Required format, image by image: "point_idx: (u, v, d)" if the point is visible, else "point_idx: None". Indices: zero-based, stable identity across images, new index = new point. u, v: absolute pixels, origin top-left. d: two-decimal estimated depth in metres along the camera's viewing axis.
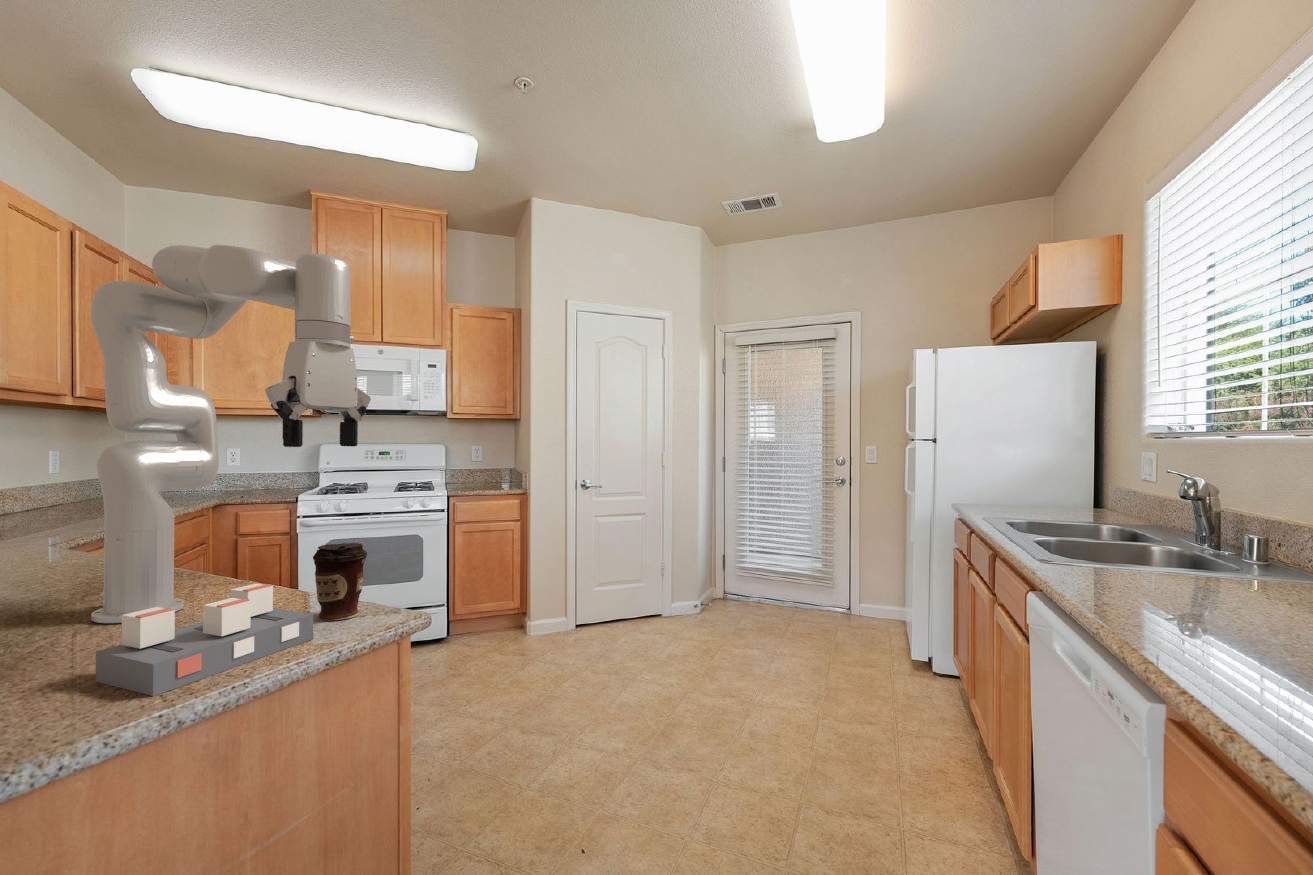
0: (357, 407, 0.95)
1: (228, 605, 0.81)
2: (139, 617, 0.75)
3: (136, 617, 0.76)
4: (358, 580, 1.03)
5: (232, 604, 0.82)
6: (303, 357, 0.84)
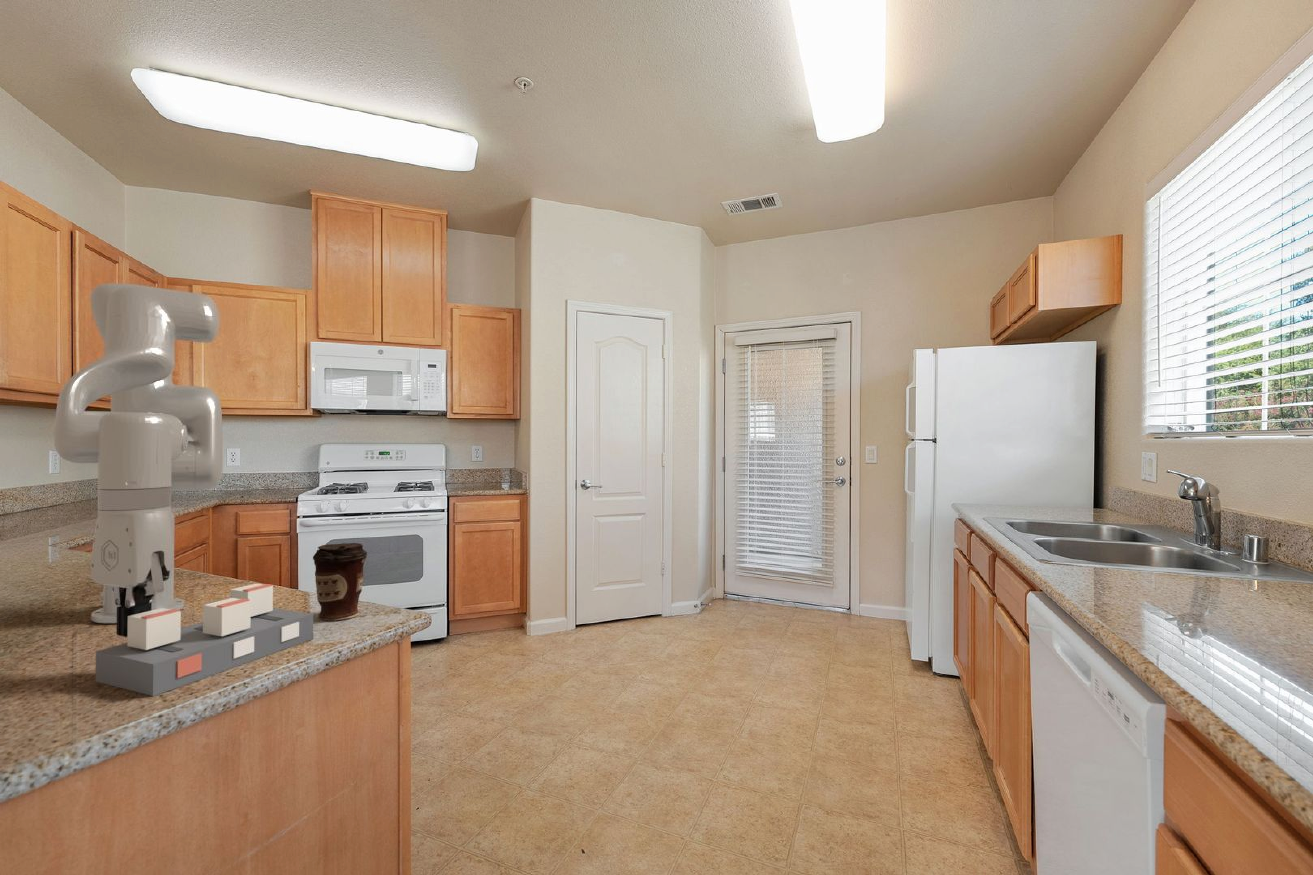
0: None
1: (228, 605, 0.81)
2: (145, 618, 0.75)
3: (142, 618, 0.75)
4: (358, 580, 1.03)
5: (232, 604, 0.82)
6: (168, 529, 0.79)
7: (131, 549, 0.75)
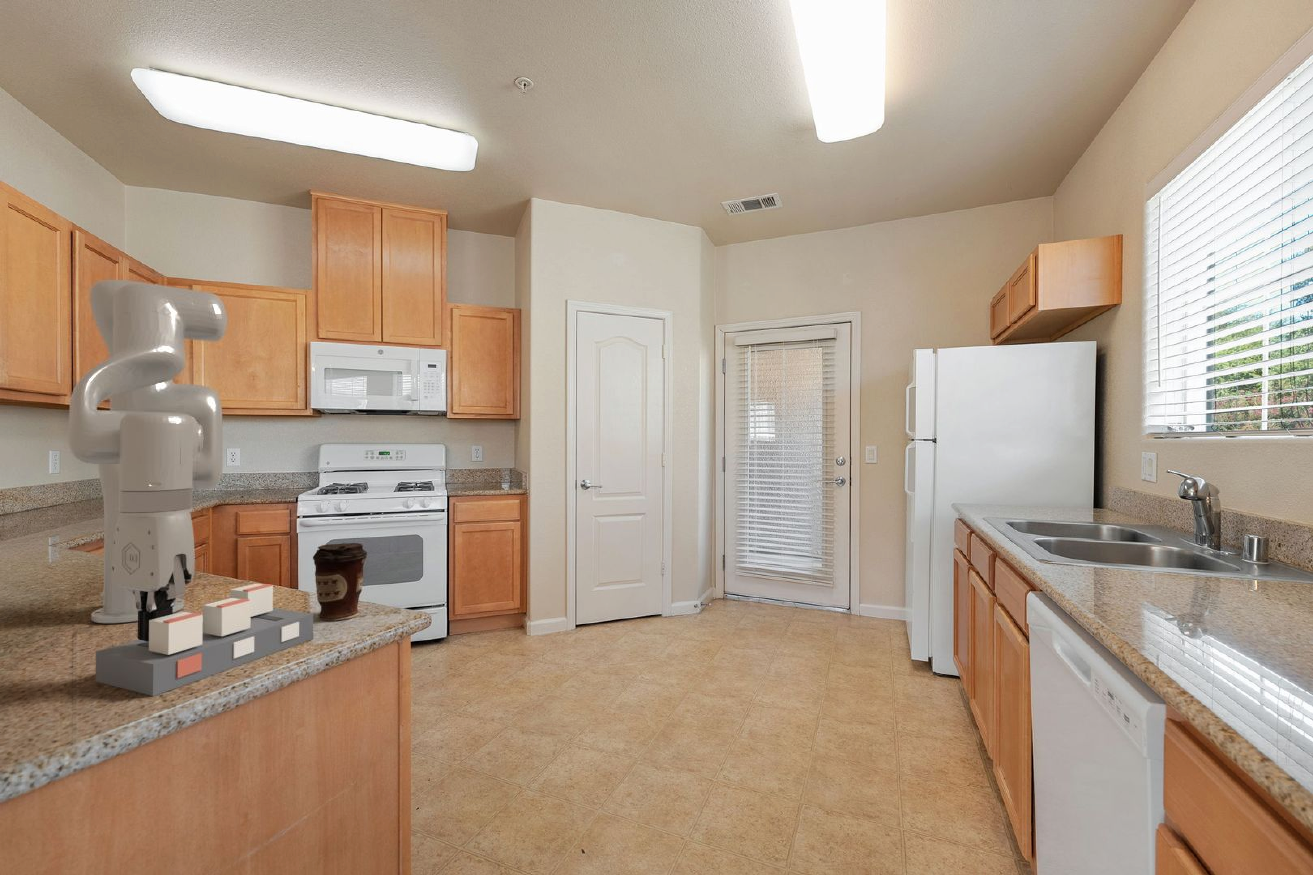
0: None
1: (228, 605, 0.81)
2: (167, 622, 0.73)
3: (164, 622, 0.74)
4: (358, 580, 1.03)
5: (232, 604, 0.82)
6: (190, 531, 0.77)
7: (153, 552, 0.73)
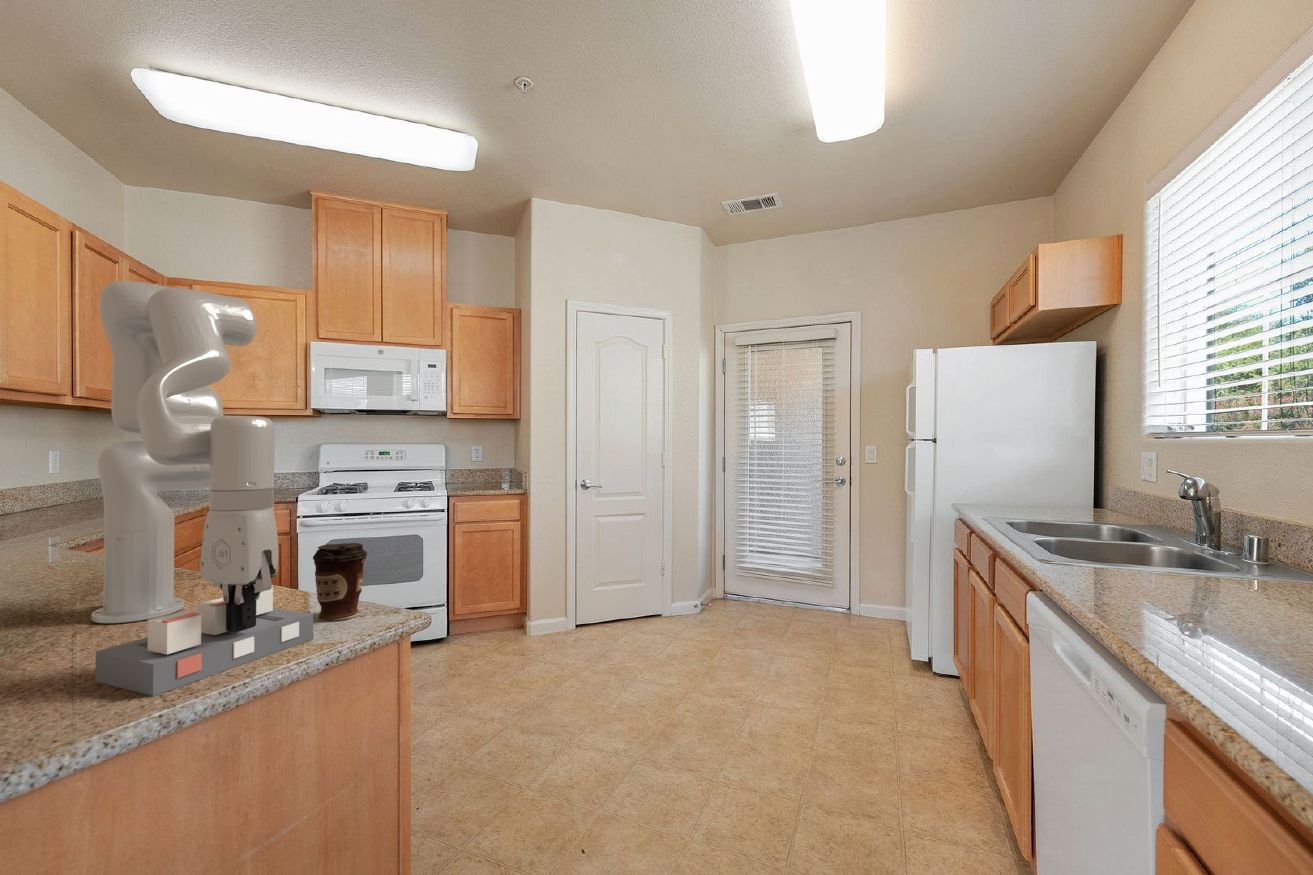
0: None
1: (221, 604, 0.82)
2: (166, 622, 0.74)
3: (163, 622, 0.74)
4: (358, 580, 1.03)
5: (225, 603, 0.82)
6: (274, 528, 0.82)
7: (244, 548, 0.78)
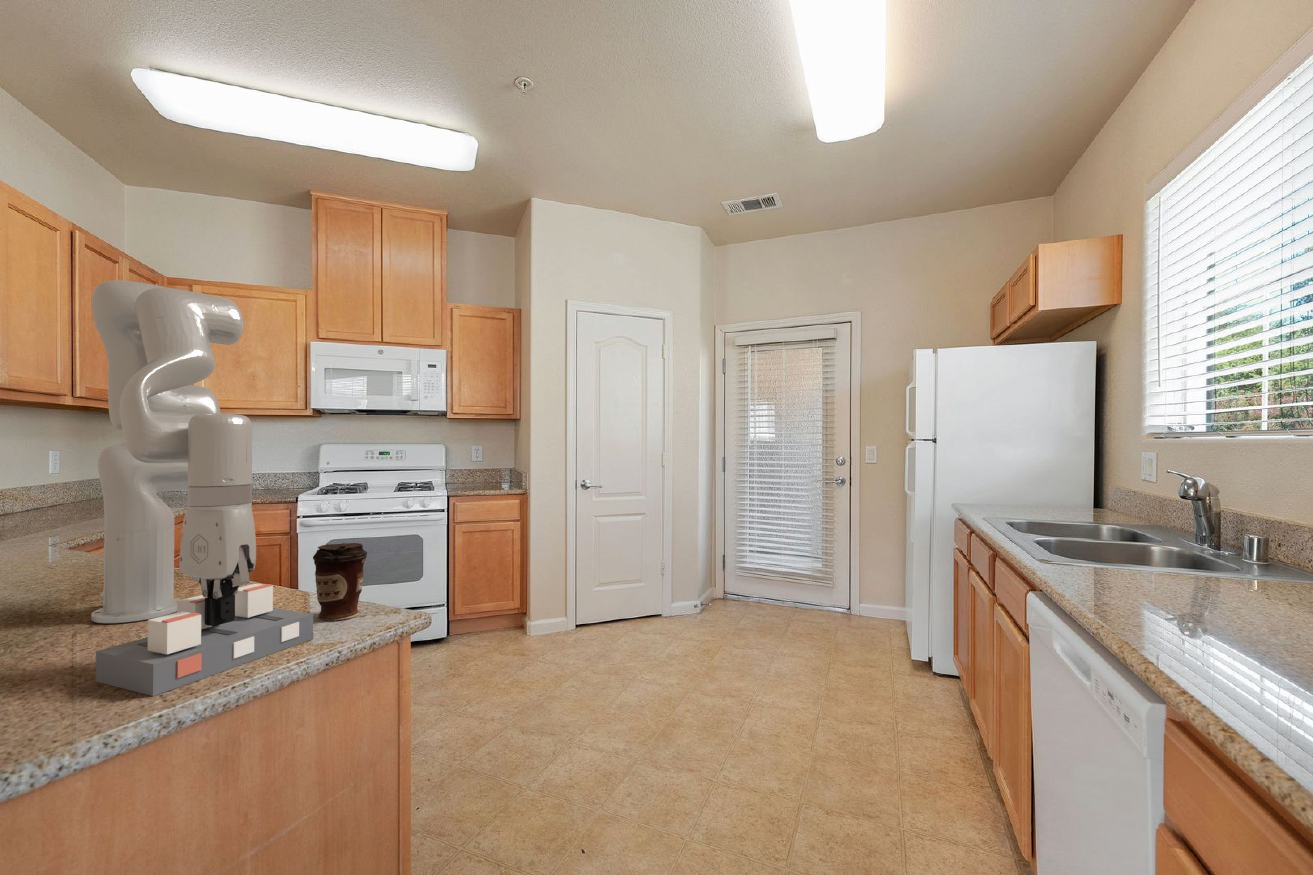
0: None
1: (201, 601, 0.83)
2: (166, 622, 0.74)
3: (163, 622, 0.74)
4: (358, 580, 1.03)
5: None
6: (252, 524, 0.83)
7: (221, 543, 0.79)
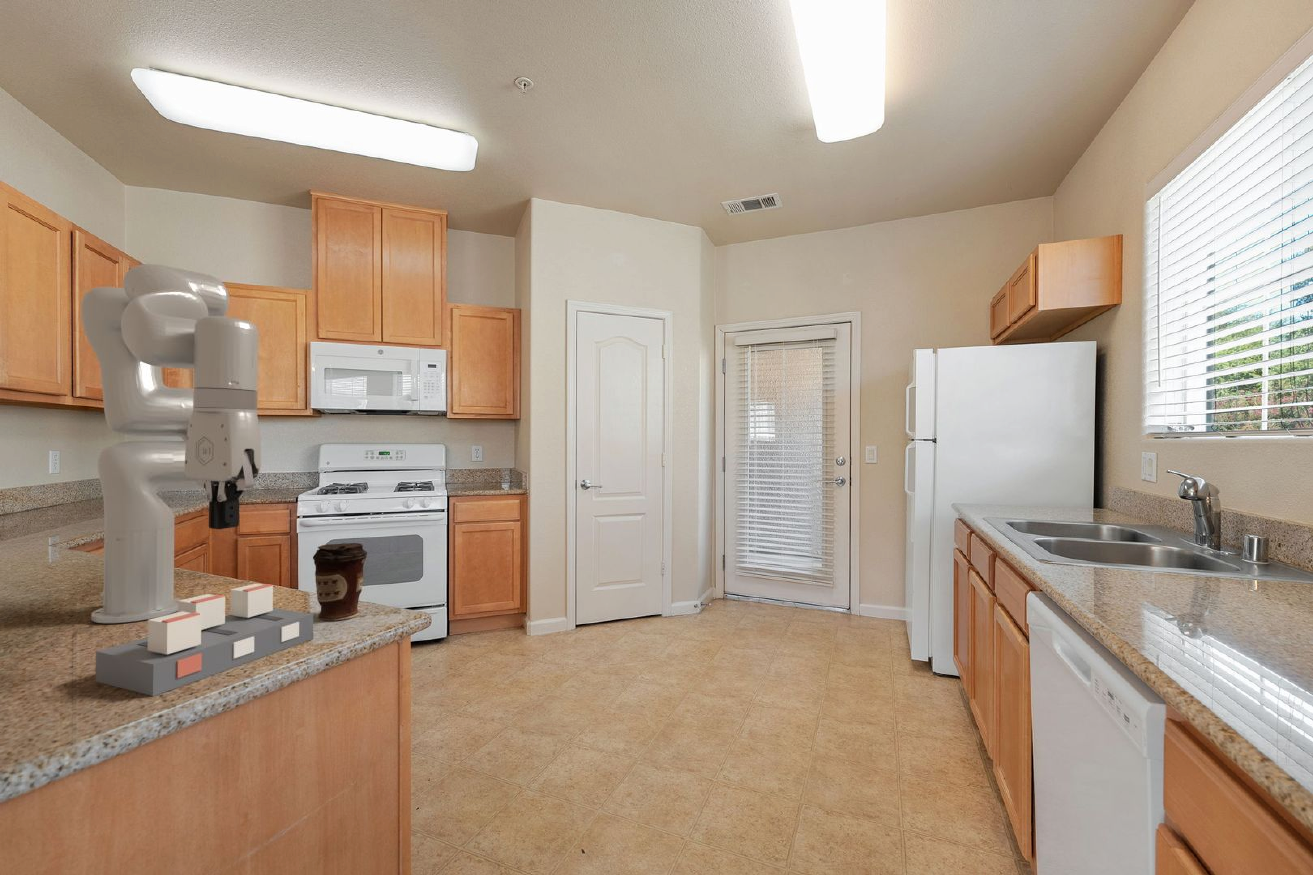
0: None
1: (202, 601, 0.83)
2: (166, 622, 0.74)
3: (163, 622, 0.74)
4: (358, 580, 1.03)
5: (206, 600, 0.83)
6: (257, 429, 0.83)
7: (226, 444, 0.79)
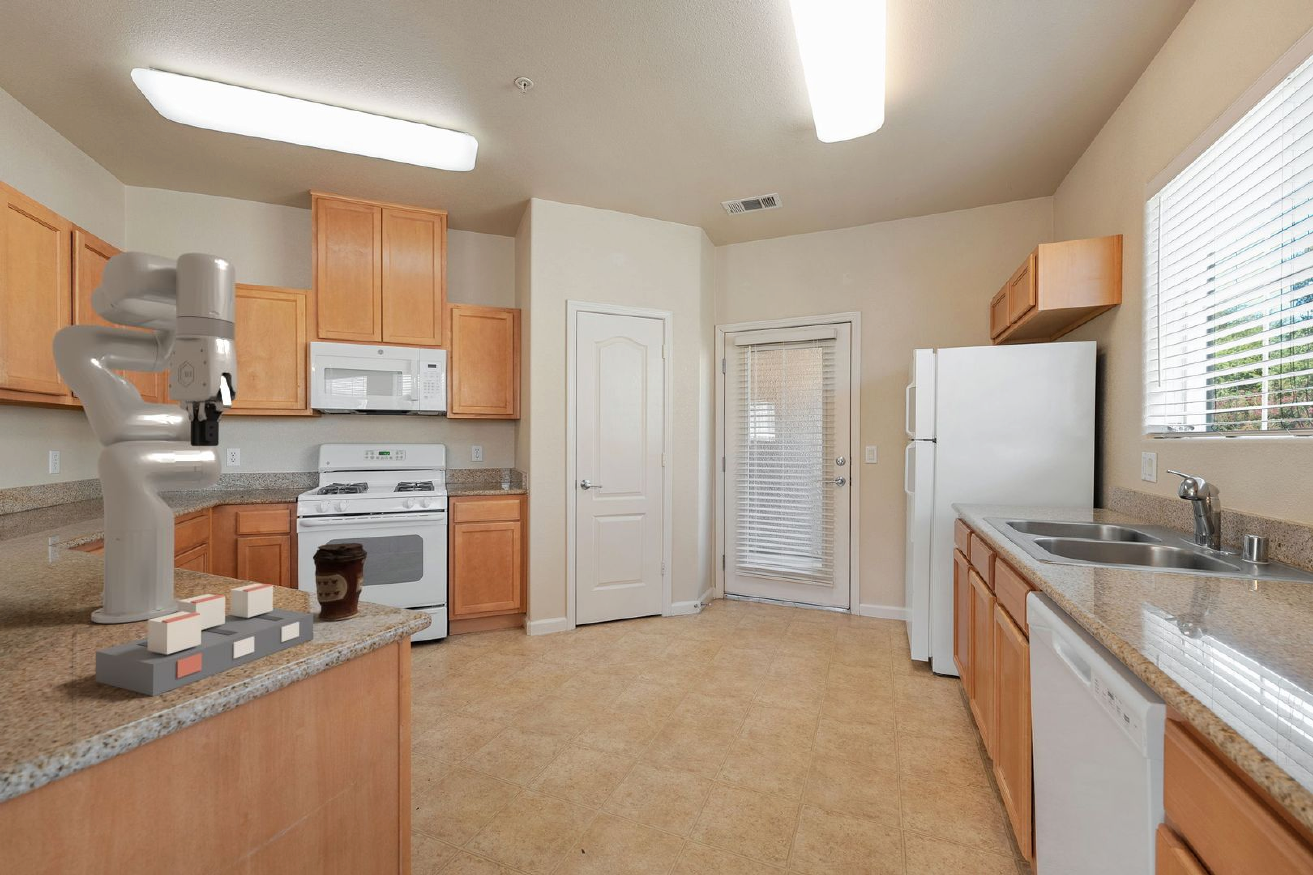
0: (195, 406, 0.93)
1: (202, 601, 0.83)
2: (166, 622, 0.74)
3: (163, 622, 0.74)
4: (358, 580, 1.03)
5: (206, 600, 0.83)
6: (234, 357, 0.92)
7: (205, 367, 0.88)
